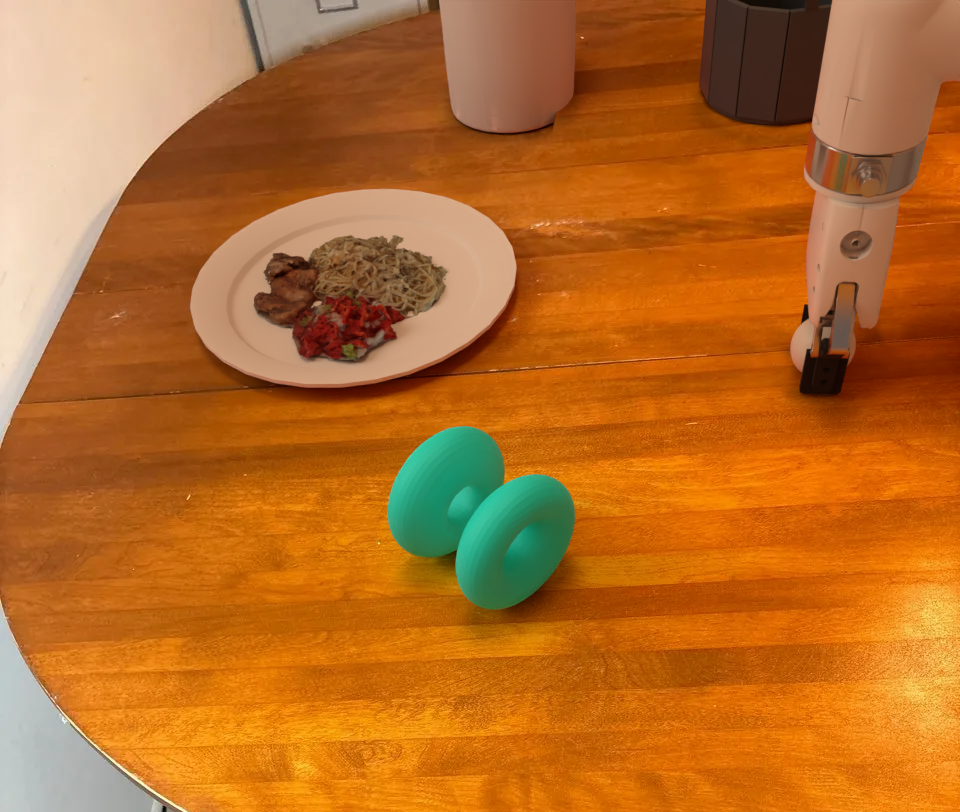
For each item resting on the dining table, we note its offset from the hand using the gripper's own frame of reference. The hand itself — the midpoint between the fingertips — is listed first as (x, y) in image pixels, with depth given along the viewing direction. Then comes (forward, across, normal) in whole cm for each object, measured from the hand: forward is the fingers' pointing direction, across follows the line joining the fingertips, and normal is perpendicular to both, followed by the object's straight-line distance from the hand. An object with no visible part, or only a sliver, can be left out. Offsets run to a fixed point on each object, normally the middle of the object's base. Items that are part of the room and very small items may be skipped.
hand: (818, 367), depth 86 cm
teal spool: (+1, -23, +24) cm, 33 cm away
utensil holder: (+1, +45, +31) cm, 55 cm away
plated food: (+1, +9, +41) cm, 42 cm away
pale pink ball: (-2, 0, 0) cm, 2 cm away
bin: (-1, +45, +3) cm, 45 cm away
